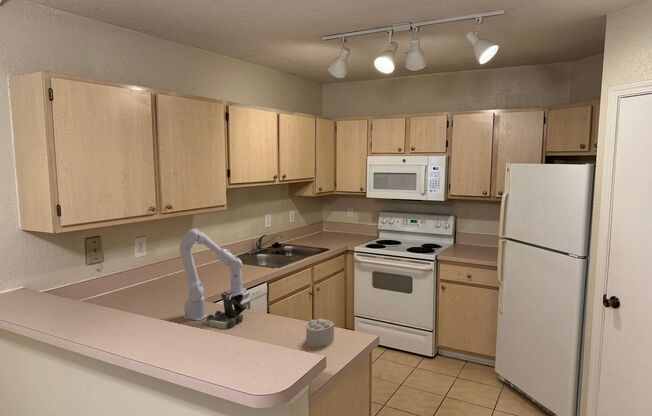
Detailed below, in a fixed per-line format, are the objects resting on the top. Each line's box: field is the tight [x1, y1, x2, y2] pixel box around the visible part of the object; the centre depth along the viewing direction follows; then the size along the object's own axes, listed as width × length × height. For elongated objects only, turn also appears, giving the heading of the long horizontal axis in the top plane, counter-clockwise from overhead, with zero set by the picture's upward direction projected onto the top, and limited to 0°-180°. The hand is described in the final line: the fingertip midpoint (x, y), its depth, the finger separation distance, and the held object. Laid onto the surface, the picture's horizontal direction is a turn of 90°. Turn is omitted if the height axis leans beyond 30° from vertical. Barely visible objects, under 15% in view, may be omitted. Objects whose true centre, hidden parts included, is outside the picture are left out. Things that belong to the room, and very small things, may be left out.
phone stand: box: [220, 291, 247, 320], centre depth 213 cm, size 9×6×12 cm, turn 135°
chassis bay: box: [206, 310, 244, 330], centre depth 207 cm, size 14×12×4 cm
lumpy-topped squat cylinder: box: [305, 318, 335, 348], centre depth 186 cm, size 10×13×9 cm
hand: (236, 309), depth 216 cm, fingers closed
